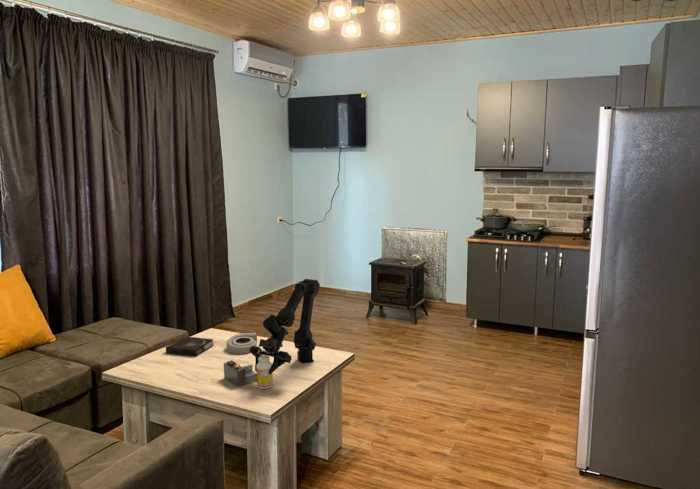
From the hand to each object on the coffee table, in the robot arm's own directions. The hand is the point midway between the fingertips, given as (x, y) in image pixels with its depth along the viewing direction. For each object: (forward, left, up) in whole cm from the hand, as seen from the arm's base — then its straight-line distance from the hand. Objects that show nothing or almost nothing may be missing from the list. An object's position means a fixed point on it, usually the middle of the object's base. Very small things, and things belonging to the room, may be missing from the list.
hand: (262, 372), depth 227 cm
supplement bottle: (-1, -1, -7) cm, 7 cm away
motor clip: (+5, -13, -7) cm, 16 cm away
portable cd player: (+23, -60, -8) cm, 64 cm away
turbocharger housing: (-2, -51, -7) cm, 52 cm away
